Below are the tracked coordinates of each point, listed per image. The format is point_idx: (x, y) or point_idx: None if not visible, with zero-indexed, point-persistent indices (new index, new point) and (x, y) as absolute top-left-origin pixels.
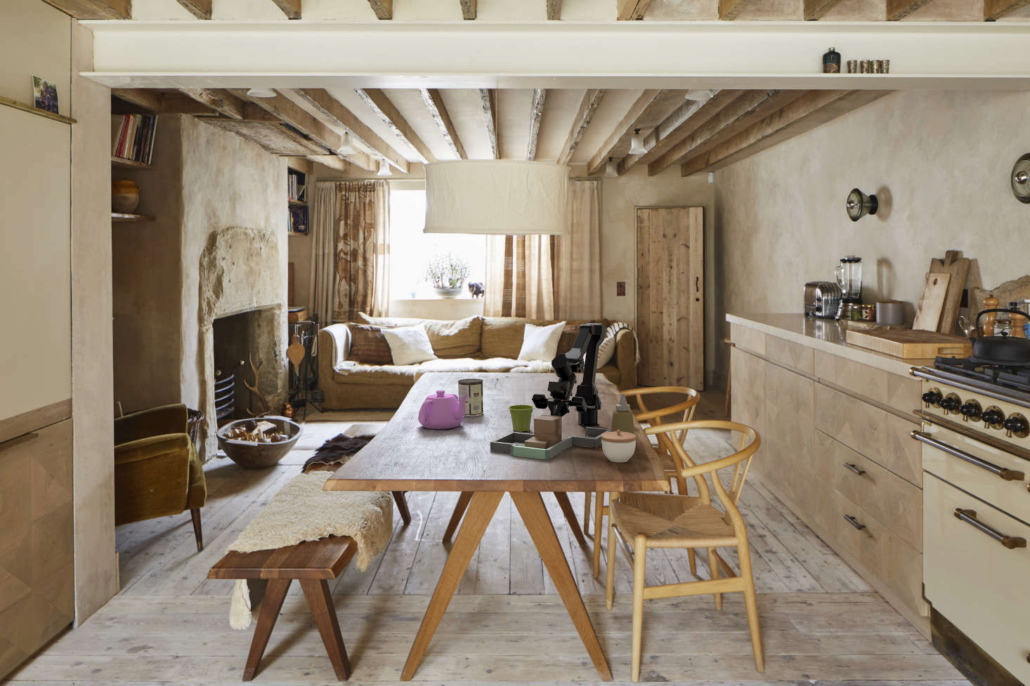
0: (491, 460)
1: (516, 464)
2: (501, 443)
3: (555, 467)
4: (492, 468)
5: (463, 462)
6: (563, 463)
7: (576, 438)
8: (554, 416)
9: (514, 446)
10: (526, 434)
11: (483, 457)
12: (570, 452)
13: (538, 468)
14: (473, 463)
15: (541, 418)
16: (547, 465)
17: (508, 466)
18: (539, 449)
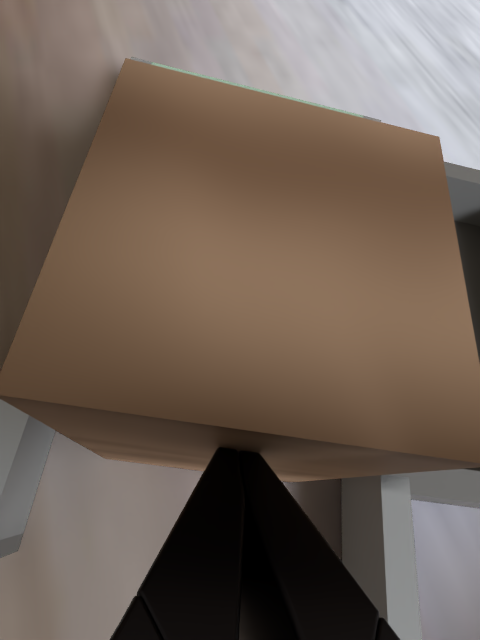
0: (387, 91)
1: (262, 51)
2: (459, 166)
3: (71, 20)
4: (326, 14)
5: (462, 66)
6: (36, 68)
7: None
8: (182, 351)
9: (355, 114)
10: (474, 471)
11: (442, 124)
12: (4, 275)
13: (149, 11)
14: (423, 58)
15: (348, 154)
16: (117, 42)
17: (281, 31)
18: (190, 72)
